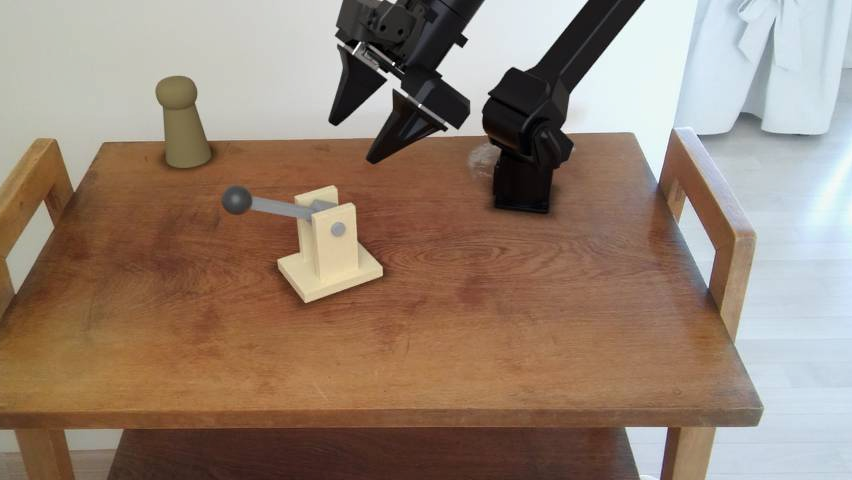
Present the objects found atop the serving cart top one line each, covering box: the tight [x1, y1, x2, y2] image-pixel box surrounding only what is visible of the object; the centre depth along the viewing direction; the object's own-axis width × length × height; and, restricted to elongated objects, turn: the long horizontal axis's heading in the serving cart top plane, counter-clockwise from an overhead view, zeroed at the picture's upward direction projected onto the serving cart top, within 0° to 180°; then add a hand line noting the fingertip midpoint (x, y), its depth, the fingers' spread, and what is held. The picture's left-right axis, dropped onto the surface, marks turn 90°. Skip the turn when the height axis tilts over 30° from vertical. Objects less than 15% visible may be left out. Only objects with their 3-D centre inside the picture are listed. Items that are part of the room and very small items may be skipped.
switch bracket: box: [276, 184, 384, 304], centre depth 79 cm, size 9×7×9 cm
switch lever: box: [221, 184, 339, 226], centre depth 74 cm, size 13×3×3 cm, turn 119°
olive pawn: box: [154, 75, 212, 169], centre depth 100 cm, size 6×6×11 cm
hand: (349, 142), depth 76 cm, fingers open, 9 cm apart
